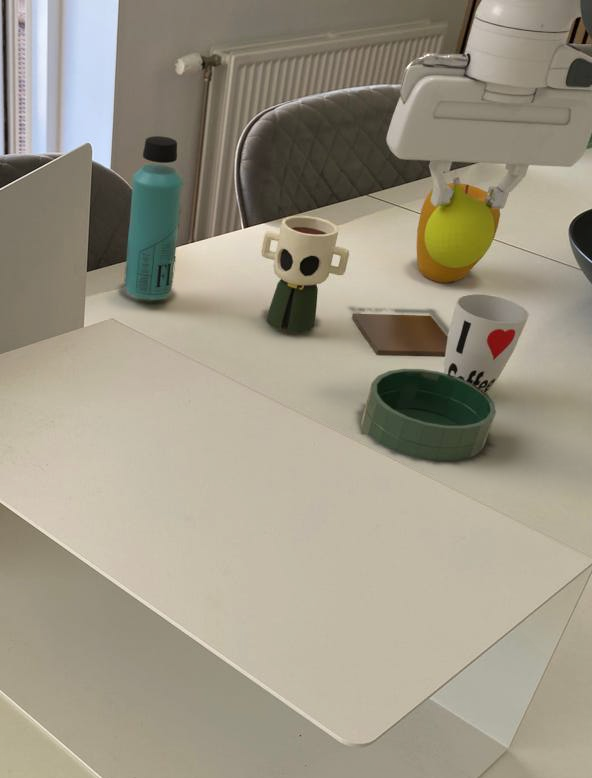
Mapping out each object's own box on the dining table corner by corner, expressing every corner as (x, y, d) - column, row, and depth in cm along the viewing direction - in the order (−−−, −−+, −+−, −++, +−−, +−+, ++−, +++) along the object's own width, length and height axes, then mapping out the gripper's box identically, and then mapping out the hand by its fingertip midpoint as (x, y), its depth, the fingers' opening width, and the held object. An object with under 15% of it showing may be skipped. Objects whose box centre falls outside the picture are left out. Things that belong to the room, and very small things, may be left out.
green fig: (403, 257, 110) (429, 160, 103) (450, 250, 113) (479, 156, 106) (447, 281, 105) (477, 182, 99) (495, 273, 108) (528, 177, 101)
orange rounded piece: (494, 286, 146) (525, 195, 137) (437, 295, 142) (465, 201, 133) (445, 259, 153) (471, 170, 144) (389, 266, 149) (413, 175, 140)
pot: (454, 409, 116) (468, 369, 112) (499, 470, 106) (516, 429, 102) (346, 408, 114) (356, 367, 111) (381, 469, 104) (394, 427, 101)
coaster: (429, 319, 135) (430, 315, 134) (459, 356, 127) (460, 352, 126) (351, 317, 133) (352, 313, 133) (376, 354, 125) (377, 350, 125)
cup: (427, 393, 118) (452, 312, 111) (436, 366, 124) (460, 288, 117) (496, 410, 116) (526, 328, 110) (502, 382, 122) (531, 303, 115)
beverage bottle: (154, 315, 129) (172, 150, 116) (112, 301, 131) (124, 138, 118) (179, 300, 133) (199, 139, 120) (138, 287, 136) (152, 127, 122)
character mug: (241, 326, 128) (258, 223, 120) (258, 307, 133) (276, 207, 125) (322, 347, 125) (346, 243, 117) (336, 327, 130) (360, 226, 122)
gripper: (420, 58, 92) (382, 212, 101) (623, 71, 95) (568, 219, 104) (398, 43, 97) (363, 192, 106) (592, 55, 99) (542, 199, 109)
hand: (466, 205), depth 105 cm, fingers closed on green fig, 5 cm apart
